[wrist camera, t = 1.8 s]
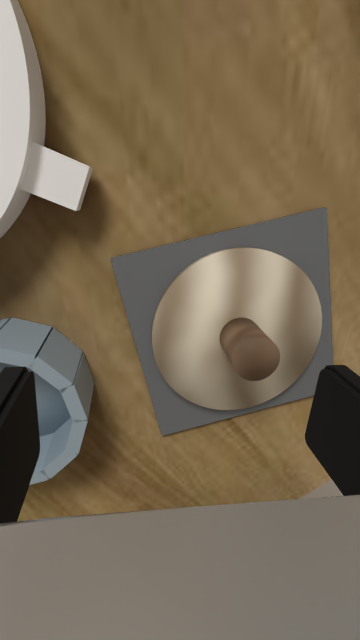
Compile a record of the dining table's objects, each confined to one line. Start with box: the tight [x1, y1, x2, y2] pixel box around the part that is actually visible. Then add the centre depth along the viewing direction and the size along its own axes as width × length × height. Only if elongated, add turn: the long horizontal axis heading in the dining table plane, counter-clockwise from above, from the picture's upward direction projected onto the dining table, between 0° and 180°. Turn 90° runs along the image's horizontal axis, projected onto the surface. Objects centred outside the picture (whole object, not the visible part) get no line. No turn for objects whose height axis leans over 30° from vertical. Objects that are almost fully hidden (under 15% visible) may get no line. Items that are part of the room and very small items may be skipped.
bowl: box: [0, 317, 94, 485], centre depth 30 cm, size 14×14×6 cm
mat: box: [111, 208, 333, 436], centre depth 34 cm, size 20×20×1 cm
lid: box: [152, 247, 322, 410], centre depth 31 cm, size 17×17×6 cm
